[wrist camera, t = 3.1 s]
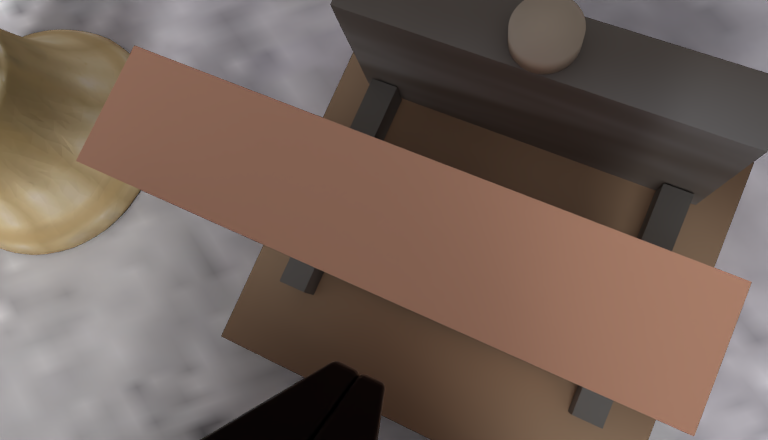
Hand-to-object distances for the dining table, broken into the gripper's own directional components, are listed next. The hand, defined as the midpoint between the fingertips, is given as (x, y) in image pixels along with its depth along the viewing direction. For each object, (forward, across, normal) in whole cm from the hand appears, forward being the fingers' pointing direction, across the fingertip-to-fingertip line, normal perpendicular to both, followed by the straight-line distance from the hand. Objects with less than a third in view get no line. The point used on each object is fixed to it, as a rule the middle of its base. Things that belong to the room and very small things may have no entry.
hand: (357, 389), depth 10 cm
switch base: (+10, 0, +4) cm, 11 cm away
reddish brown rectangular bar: (+8, 0, +5) cm, 9 cm away
